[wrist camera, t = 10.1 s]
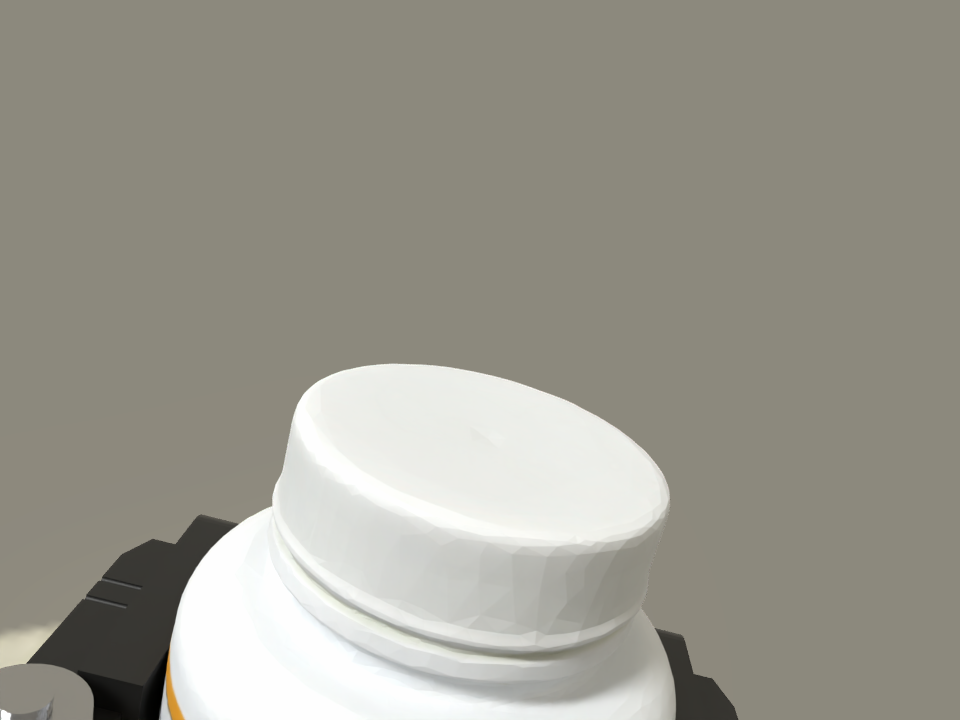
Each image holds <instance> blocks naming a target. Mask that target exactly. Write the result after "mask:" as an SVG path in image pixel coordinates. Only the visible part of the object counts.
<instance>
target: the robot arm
mask: <svg viewBox="0 0 960 720" xmlns="http://www.w3.org/2000/svg"><path fill="white" fill-rule="evenodd" d="M238 525H239V524H237V523H233V522H229V521H225V520H221V519H217V518H213V517H209V516H205V515H199V516H198V517H197V518H196V519H195V520H194V521H193V522H192V524H191V525H190V526H189V528H188V529H187V530H186V532H185V533H184V534H183V535H182V537H181V538H180V539H179V540H178V542H177V543H176V544H171V543H167V542H163V541H159V540H155V539H152V540H150V541H148V542H146V543H144V544H142V545H140V546H138V547H136V548H134V549H132V550H130V551H128V552H126V553H124V554H122V555H121V556H120V557H119V558H118V559H117V560H116V562H115V563H114V564H113V565H112V566H111V567H110V568H109V570H108V571H107V572H106V573H105V574H104V575H103V577H102V580H101V581H98V582H97V584H96V585H95V586H94V587H93V588H92V589H91V590H90V591H89V592H88V594H87V596H86V598H85V600H84V599H82V601H81V602H80V603H79V604H78V605H77V606H76V607H75V608H74V610H73V611H72V612H71V613H70V614H69V615H68V617H67V618H66V619H65V620H64V621H63V622H62V623H61V624H60V626H59V627H58V628H57V629H56V630H55V631H54V632H53V634H52V635H51V636H50V637H49V638H48V639H47V640H46V642H45V643H44V644H43V645H42V646H41V647H40V648H39V650H38V651H37V652H36V653H35V654H34V655H33V656H32V658H31V659H30V660H29V661H28V662H27V663H26V664H20V665H14V666H9V667H5V668H1V669H0V720H159V711H160V706H161V701H162V695H163V689H164V683H165V677H166V671H167V662H168V655H169V649H170V642H171V638H172V633H173V629H174V625H175V621H176V616H177V611H178V607H179V604H180V601H181V598H182V594H183V592H184V590H185V588H186V586H187V584H188V581H189V579H190V578H191V576H192V574H193V573H194V571H195V569H196V568H197V566H198V565H199V563H200V562H201V560H202V559H203V558H204V556H205V555H206V554H207V553H208V551H209V550H210V549H211V548H212V547H213V546H214V545H215V544H216V543H217V542H218V541H219V540H220V539H221V538H222V537H223V536H224V535H226V534H227V533H228V532H229V531H231V530H232V529H233V528H235V527H236V526H238ZM655 630H656V632H657V634H658V635H659V638H660V640H661V642H662V645H663V647H664V649H665V652H666V654H667V657H668V661H669V665H670V668H671V672H672V675H673V679H674V686H675V694H676V717H675V720H738V718H737V715H736V711H735V708H734V706H733V705H732V704H731V702H730V701H729V700H728V698H727V697H726V696H725V695H724V693H723V692H722V691H721V690H720V688H719V687H718V685H717V684H716V683H715V682H714V680H713V679H711V678H707V677H703V676H699V675H695V674H693V670H692V666H691V663H690V659H689V655H688V651H687V648H686V644H685V640H684V638H683V636H682V635H680V634H676V633H672V632H668V631H663V630H660V629H656V628H655Z"/></svg>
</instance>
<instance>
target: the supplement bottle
mask: <svg viewBox="0 0 960 720" xmlns="http://www.w3.org/2000/svg"><path fill="white" fill-rule="evenodd" d="M669 509H670V495H669V488H668V485H667V482H666V480H665V477H664V475H663V473H662V472H661V470H660V469H659V467H658V466H657V465H656V463H655V462H654V461H653V460H652V459H651V457H650V456H649V455H648V454H647V453H646V452H645V451H644V450H643V449H642V448H641V447H640V446H639V445H638V444H636V443H635V442H634V441H633V440H632V439H631V438H629V437H628V436H627V435H625V434H624V433H623V432H621V431H620V430H619V429H617V428H616V427H614V426H612V425H611V424H609V423H607V422H606V421H604V420H603V419H601V418H599V417H598V416H596V415H594V414H592V413H590V412H587V411H586V410H584V409H582V408H580V407H578V406H577V405H575V404H573V403H571V402H568V401H566V400H564V399H561V398H559V397H556V396H554V395H550V394H548V393H545V392H542V391H540V390H537V389H534V388H531V387H528V386H526V385H522V384H520V383H516V382H513V381H510V380H507V379H503V378H499V377H496V376H491V375H487V374H482V373H478V372H472V371H467V370H461V369H456V368H450V367H442V366H432V365H411V364H382V365H371V366H363V367H359V368H354V369H349V370H344V371H341V372H338V373H335V374H332V375H330V376H328V377H326V378H324V379H322V380H320V381H318V382H317V383H315V384H314V385H313V386H312V387H310V388H309V389H308V390H307V392H305V393H304V395H303V396H302V398H301V400H300V401H299V403H298V405H297V408H296V411H295V414H294V416H293V420H292V425H291V430H290V435H289V441H288V446H287V451H286V456H285V461H284V467H283V471H282V474H281V476H280V478H279V480H278V481H277V483H276V486H275V489H274V493H273V506H272V507H269V508H267V509H265V510H263V511H261V512H259V513H257V514H255V515H253V516H251V517H249V518H247V519H246V520H245V521H243V522H242V523H240V524H239V525H238V526H236V527H235V528H233V529H232V530H231V531H229V532H228V533H227V534H226V535H224V536H223V537H222V538H221V539H220V540H219V541H218V542H217V543H216V544H215V545H214V546H213V547H212V548H211V549H210V550H209V551H208V553H207V554H206V555H205V556H204V558H203V559H202V560H201V562H200V563H199V565H198V566H197V568H196V569H195V571H194V573H193V574H192V576H191V578H190V579H189V581H188V584H187V586H186V588H185V590H184V592H183V594H182V598H181V601H180V604H179V607H178V611H177V616H176V621H175V625H174V629H173V633H172V638H171V642H170V649H169V655H168V662H167V671H166V677H165V683H164V689H163V695H162V701H161V706H160V711H159V720H675V717H676V694H675V686H674V679H673V675H672V672H671V668H670V665H669V661H668V657H667V654H666V652H665V649H664V647H663V645H662V642H661V640H660V638H659V635H658V634H657V632H656V630H655V628H654V627H653V625H652V623H651V622H650V620H649V618H648V617H647V616H646V614H645V613H644V611H643V610H642V608H641V606H642V604H643V602H644V600H645V597H646V595H647V589H648V574H649V571H650V568H651V565H652V562H653V559H654V556H655V553H656V550H657V546H658V544H659V541H660V538H661V535H662V532H663V529H664V527H665V524H666V521H667V517H668V513H669Z"/></svg>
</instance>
